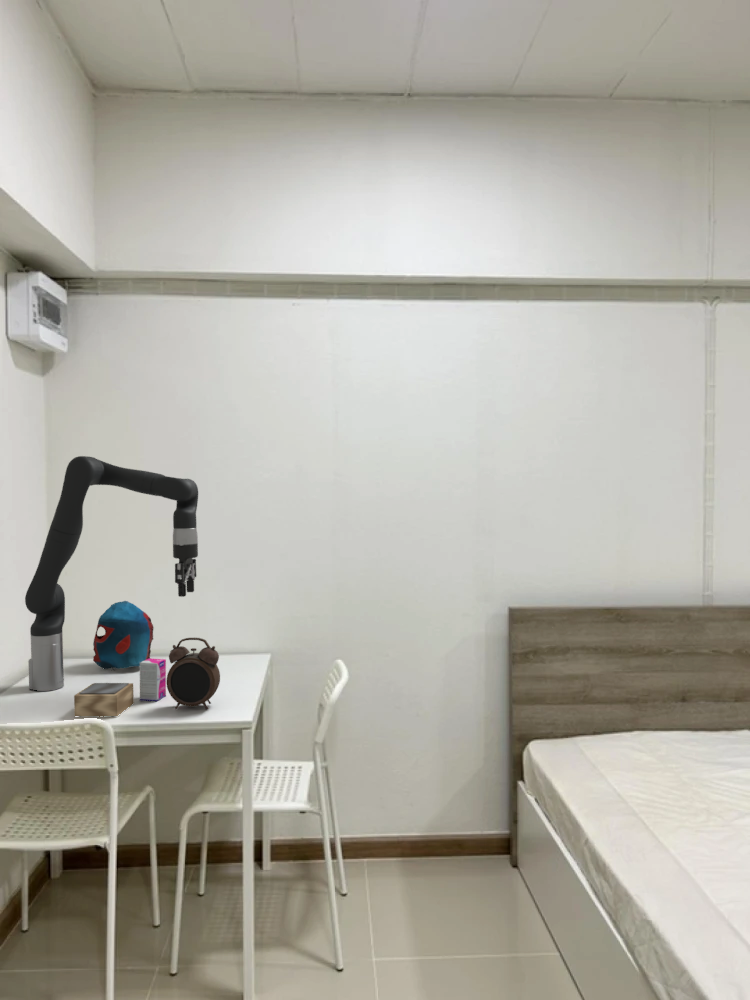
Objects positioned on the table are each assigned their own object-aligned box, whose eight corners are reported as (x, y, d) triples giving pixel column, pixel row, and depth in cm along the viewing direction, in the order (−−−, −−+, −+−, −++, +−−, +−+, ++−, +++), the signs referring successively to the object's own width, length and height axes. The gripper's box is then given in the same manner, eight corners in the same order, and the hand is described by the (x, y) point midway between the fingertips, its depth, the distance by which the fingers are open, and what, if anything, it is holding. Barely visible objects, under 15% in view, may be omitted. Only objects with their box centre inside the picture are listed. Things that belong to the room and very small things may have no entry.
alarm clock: (164, 712, 206) (163, 641, 205) (173, 704, 213) (171, 635, 212) (215, 712, 205) (214, 640, 204) (222, 704, 212) (221, 635, 212)
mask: (102, 688, 255) (73, 622, 256) (153, 663, 268) (126, 600, 269) (119, 681, 242) (89, 611, 243) (172, 655, 255) (143, 589, 256)
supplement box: (157, 702, 215) (156, 663, 215) (139, 701, 216) (138, 662, 216) (167, 696, 221) (166, 658, 221) (148, 695, 222) (148, 657, 222)
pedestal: (74, 717, 202) (74, 694, 202) (93, 703, 214) (92, 682, 214) (117, 717, 202) (116, 694, 202) (133, 703, 214) (133, 681, 214)
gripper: (180, 540, 236) (181, 590, 237) (165, 544, 222) (167, 598, 223) (203, 540, 236) (204, 590, 237) (190, 544, 222) (191, 597, 222)
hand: (186, 594), depth 230 cm, fingers open, 8 cm apart
